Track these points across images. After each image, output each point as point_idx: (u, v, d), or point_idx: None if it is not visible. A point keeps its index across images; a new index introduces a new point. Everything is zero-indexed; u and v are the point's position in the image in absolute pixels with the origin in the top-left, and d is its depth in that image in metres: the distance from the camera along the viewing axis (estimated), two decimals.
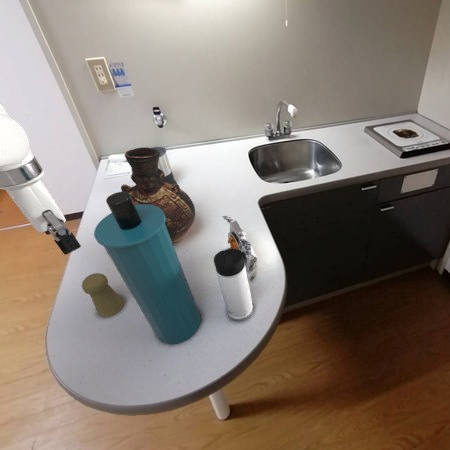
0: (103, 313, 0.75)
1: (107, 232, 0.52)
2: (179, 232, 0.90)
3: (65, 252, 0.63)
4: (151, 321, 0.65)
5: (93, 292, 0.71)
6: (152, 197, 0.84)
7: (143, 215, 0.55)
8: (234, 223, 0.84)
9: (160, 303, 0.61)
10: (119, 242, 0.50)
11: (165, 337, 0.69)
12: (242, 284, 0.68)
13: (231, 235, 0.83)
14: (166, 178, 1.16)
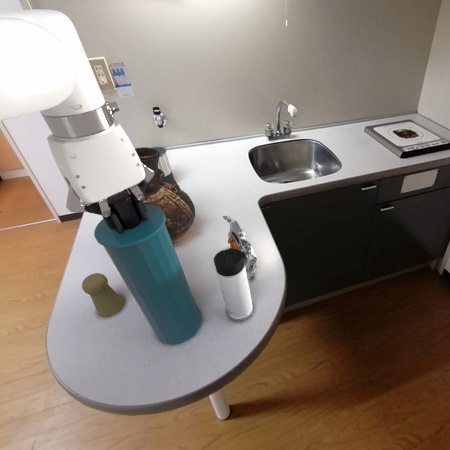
0: (103, 313, 0.75)
1: (107, 232, 0.52)
2: (179, 232, 0.90)
3: None
4: (151, 321, 0.65)
5: (92, 292, 0.71)
6: (152, 197, 0.84)
7: None
8: (234, 223, 0.84)
9: (160, 303, 0.61)
10: (119, 242, 0.50)
11: (165, 337, 0.69)
12: (242, 284, 0.68)
13: (231, 235, 0.83)
14: (166, 178, 1.16)
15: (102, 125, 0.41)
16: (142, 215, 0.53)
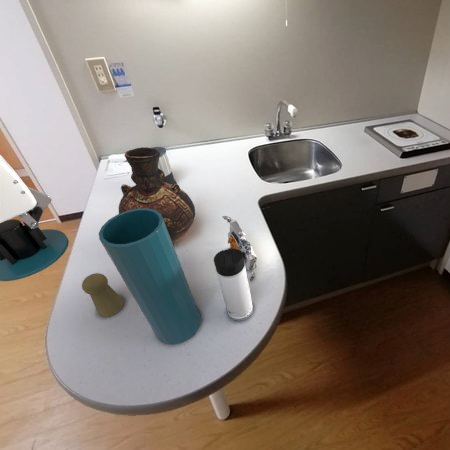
0: (103, 313, 0.75)
1: None
2: (179, 232, 0.90)
3: None
4: (151, 321, 0.65)
5: (92, 292, 0.71)
6: (152, 197, 0.84)
7: (44, 242, 0.52)
8: (234, 223, 0.84)
9: (160, 303, 0.61)
10: (7, 274, 0.46)
11: (165, 337, 0.69)
12: (242, 284, 0.68)
13: (231, 235, 0.83)
14: (166, 178, 1.16)
15: None
16: (39, 243, 0.50)
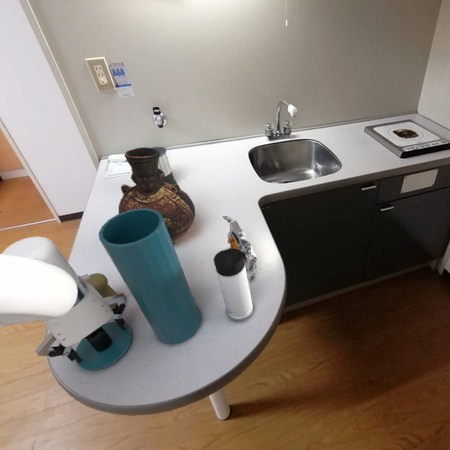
0: None
1: (85, 354, 0.67)
2: (179, 232, 0.90)
3: None
4: (151, 321, 0.65)
5: None
6: (152, 197, 0.84)
7: (114, 335, 0.71)
8: (234, 223, 0.84)
9: (160, 303, 0.61)
10: (93, 365, 0.66)
11: (165, 337, 0.69)
12: (242, 284, 0.68)
13: (231, 235, 0.83)
14: (166, 178, 1.16)
15: (77, 300, 0.56)
16: (122, 328, 0.69)
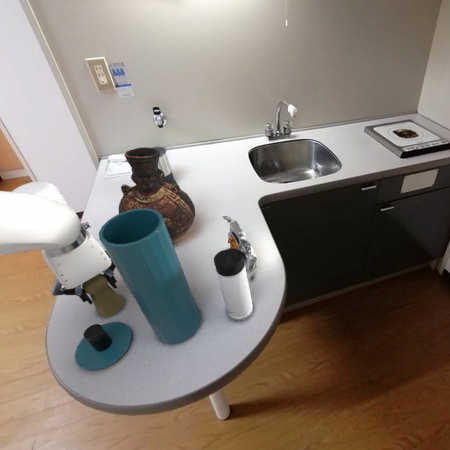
0: (103, 313, 0.75)
1: (85, 354, 0.67)
2: (179, 232, 0.90)
3: None
4: (151, 321, 0.65)
5: (93, 292, 0.71)
6: (152, 197, 0.84)
7: (114, 335, 0.71)
8: (234, 223, 0.84)
9: (160, 303, 0.61)
10: (93, 365, 0.66)
11: (165, 337, 0.69)
12: (242, 284, 0.68)
13: (231, 235, 0.83)
14: (166, 178, 1.16)
15: (77, 243, 0.62)
16: (113, 286, 0.75)
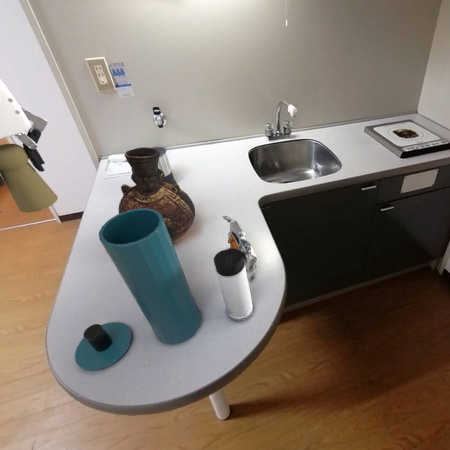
0: (24, 206, 0.53)
1: (85, 354, 0.67)
2: (179, 232, 0.90)
3: None
4: (151, 321, 0.65)
5: (1, 164, 0.49)
6: (152, 197, 0.84)
7: (114, 335, 0.71)
8: (234, 223, 0.84)
9: (160, 303, 0.61)
10: (93, 365, 0.66)
11: (165, 337, 0.69)
12: (242, 284, 0.68)
13: (231, 235, 0.83)
14: (166, 178, 1.16)
15: None
16: (37, 165, 0.53)
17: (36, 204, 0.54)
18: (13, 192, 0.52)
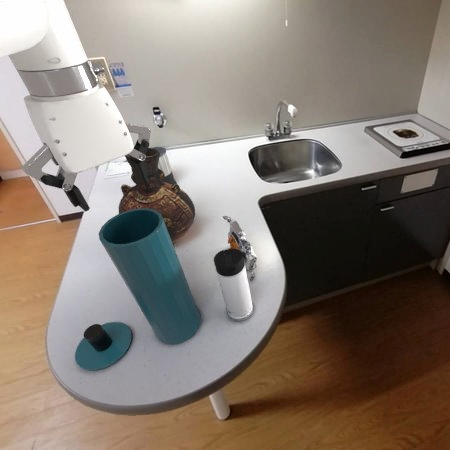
0: None
1: (85, 354, 0.67)
2: (179, 232, 0.90)
3: None
4: (151, 321, 0.65)
5: None
6: (152, 197, 0.84)
7: (114, 335, 0.71)
8: (234, 223, 0.84)
9: (160, 303, 0.61)
10: (93, 365, 0.66)
11: (165, 337, 0.69)
12: (242, 284, 0.68)
13: (231, 235, 0.83)
14: (166, 178, 1.16)
15: (84, 84, 0.38)
16: (143, 178, 0.51)
17: None
18: None
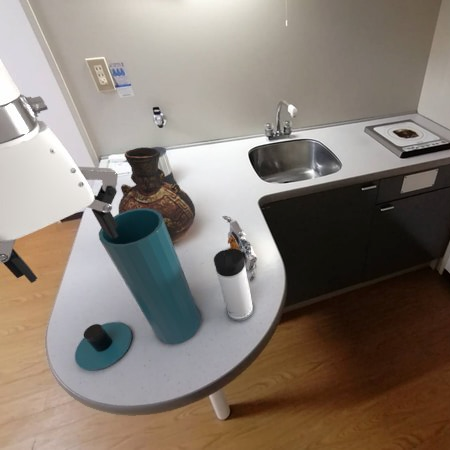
0: None
1: (85, 354, 0.67)
2: (179, 232, 0.90)
3: None
4: (151, 321, 0.65)
5: None
6: (152, 197, 0.84)
7: (114, 335, 0.71)
8: (234, 223, 0.84)
9: (160, 303, 0.61)
10: (93, 365, 0.66)
11: (165, 337, 0.69)
12: (242, 284, 0.68)
13: (231, 235, 0.83)
14: (166, 178, 1.16)
15: (12, 131, 0.27)
16: (110, 232, 0.41)
17: None
18: None
